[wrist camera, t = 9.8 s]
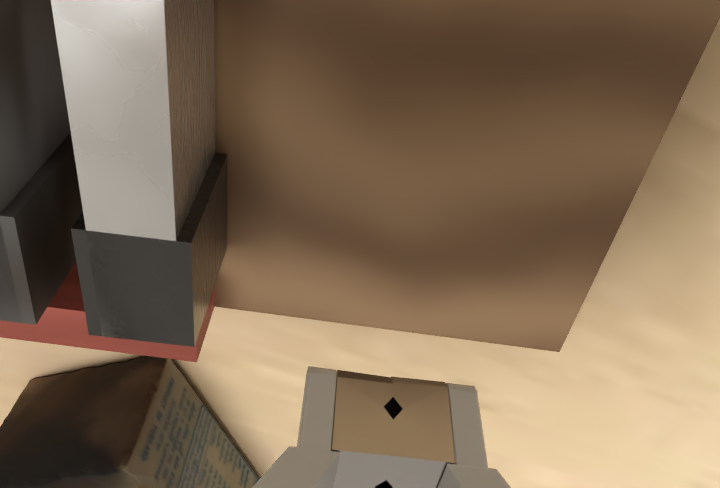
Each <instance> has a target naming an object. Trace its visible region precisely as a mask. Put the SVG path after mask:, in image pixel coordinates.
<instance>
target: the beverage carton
mask: <svg viewBox="0 0 720 488" xmlns="http://www.w3.org/2000/svg"><path fill="white" fill-rule="evenodd" d="M258 480H259V478H258V477H257V476H256V474H255V473H254V471H253V470H252V468H251V467H250V466H249V464H248V463H247V461H246V460H245V459H244V457H243V456H242V455H241V454H240V452H239V451H238V450H237V449H236V447H235V446H234V445H233V443H232V442H231V440H230V439H229V437H228V436H227V435H226V434H225V432H224V431H223V429H222V428H221V427H220V425H219V424H218V423H217V421H216V420H215V419H214V417H213V416H212V415H211V413H210V412H209V411H208V409H207V408H206V407H205V405H204V404H203V403H202V401H201V400H200V399H199V397H198V396H197V394H196V393H195V392H194V390H193V389H192V387H191V386H190V385H189V383H188V382H187V380H186V379H185V378H184V376H183V375H182V373H181V372H180V371H179V370H178V368H177V367H176V366H175V364H174V363H173V361H172V360H171V359H168V358H161V357H153V356H149V357H143V358H139V359H135V360H131V361H127V362H122V363H116V364H111V365H106V366H102V367H98V368H97V367H91V368H87V369H83V370H79V371H75V372H71V373H63V374H58V375H55V376H49V377H41V378H36V379H32V380H30V381H29V383H28V384H27V386H26V387H25V389H24V390H23V392H22V393H21V395H20V396H19V398H18V400H17V402H16V403H15V405H14V406H13V408H12V410H11V412H10V413H9V415H8V416H7V417H6V418H5V420H4V422H3V424H2V425H1V427H0V488H252V487H253V486H254V485H255V484H256V483H257V482H258Z"/></svg>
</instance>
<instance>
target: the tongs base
mask: <svg viewBox="0 0 720 488" xmlns="http://www.w3.org/2000/svg"><path fill="white" fill-rule="evenodd" d="M719 18H720V0H215V152H217V153H225V154H227V250H226V253H225V256H224V259H223V262H222V265H221V268H220V271H219V274H218V277H217V280H216V283H215V286H214V289H213V292H212V295H211V298H210V301H209V304H208V308H207V311H206V314H205V317H204V320H203V323H202V326H201V329H200V332H199V335H198V338H197V341H196V344H195V347H191V346H182V345H173V344H164V343H155V342H146V341H138V340H129V339H120V338H111V337H102V336H93V335H89V333H88V327H87V321H86V315H85V310H84V304H83V298H82V292H81V286H80V280H79V274H78V268H77V262H76V257H75V251H74V245H73V239H72V233H71V227H72V226H73V224H74V223H75V221H76V220H77V219H78V217H79V216H80V214H81V213H82V211H83V208H82V202H81V195H80V189H79V182H78V175H77V169H76V162H75V156H74V149H73V143H72V136H71V130H70V123H69V117H68V110H67V104H66V97H65V91H64V84H63V77H62V71H61V64H60V58H59V51H58V45H57V38H56V32H55V25H54V19H53V12H52V6H51V0H0V337H3V338H10V339H18V340H26V341H34V342H42V343H50V344H58V345H66V346H74V347H82V348H89V349H97V350H105V351H113V352H121V353H129V354H137V355H145V356H153V357H161V358H168V359H176V360H184V361H192V362H197V360H198V357H199V353H200V350H201V347H202V344H203V341H204V338H205V334H206V331H207V328H208V325H209V322H210V319H211V315H212V312H213V309H214V306H216V307H223V308H231V309H239V310H246V311H254V312H261V313H269V314H276V315H284V316H291V317H299V318H307V319H314V320H322V321H329V322H337V323H344V324H352V325H359V326H367V327H375V328H382V329H390V330H397V331H405V332H412V333H420V334H427V335H435V336H443V337H450V338H458V339H465V340H473V341H480V342H488V343H495V344H503V345H511V346H518V347H526V348H533V349H541V350H548V351H556V352H560V350H561V348H562V345H563V343H564V341H565V339H566V337H567V335H568V333H569V331H570V329H571V327H572V325H573V322H574V320H575V318H576V316H577V314H578V312H579V310H580V308H581V306H582V304H583V302H584V300H585V297H586V295H587V293H588V291H589V289H590V287H591V285H592V283H593V281H594V279H595V277H596V275H597V272H598V270H599V268H600V266H601V264H602V262H603V260H604V258H605V256H606V254H607V252H608V249H609V247H610V245H611V243H612V241H613V239H614V237H615V235H616V233H617V231H618V229H619V227H620V224H621V222H622V220H623V218H624V216H625V214H626V212H627V210H628V208H629V206H630V204H631V201H632V199H633V197H634V195H635V193H636V191H637V189H638V187H639V185H640V183H641V181H642V179H643V176H644V174H645V172H646V170H647V168H648V166H649V164H650V162H651V160H652V158H653V156H654V154H655V151H656V149H657V147H658V145H659V143H660V141H661V139H662V137H663V135H664V133H665V131H666V128H667V126H668V124H669V122H670V120H671V118H672V116H673V114H674V112H675V110H676V108H677V106H678V103H679V101H680V99H681V97H682V95H683V93H684V91H685V89H686V87H687V85H688V83H689V81H690V78H691V76H692V74H693V72H694V70H695V68H696V66H697V64H698V62H699V60H700V58H701V55H702V53H703V51H704V49H705V47H706V45H707V43H708V41H709V39H710V37H711V35H712V33H713V30H714V28H715V26H716V24H717V22H718V20H719Z"/></svg>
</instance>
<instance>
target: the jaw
mask: <svg viewBox="0 0 720 488" xmlns="http://www.w3.org/2000/svg"><path fill="white" fill-rule="evenodd" d="M51 6H52V12H53V19H54V25H55V32H56V38H57V45H58V51H59V58H60V64H61V71H62V77H63V84H64V91H65V97H66V104H67V110H68V117H69V123H70V130H71V136H72V143H73V149H74V156H75V162H76V169H77V175H78V182H79V189H80V195H81V202H82V208H83V211H82V213H81V214H80V216H79V217H78V219H77V220H76V221H75V223H74V224H73V226H72V227H71V233H72V239H73V245H74V251H75V257H76V262H77V268H78V274H79V280H80V286H81V292H82V298H83V304H84V310H85V315H86V321H87V327H88V333H89V335H93V336H102V337H111V338H120V339H129V340H138V341H146V342H155V343H164V344H173V345H182V346H191V347H195V344H196V341H197V338H198V335H199V332H200V329H201V326H202V323H203V320H204V317H205V314H206V311H207V308H208V304H209V301H210V298H211V295H212V292H213V289H214V286H215V283H216V280H217V277H218V274H219V271H220V268H221V265H222V262H223V259H224V256H225V253H226V250H227V154H225V153H217V152H215V0H51Z"/></svg>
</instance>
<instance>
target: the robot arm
mask: <svg viewBox="0 0 720 488" xmlns="http://www.w3.org/2000/svg"><path fill="white" fill-rule="evenodd" d="M252 488H511V487H510V486H509V484H508V483H507V482H506V481H505V479H504V478H503V477H502V476H501V474H500V473H499V472H498V471H497V469H492V468H488V464H487V457H486V450H485V443H484V436H483V429H482V422H481V415H480V408H479V401H478V394H477V390H476V389H475V387H474V386H468V385H459V384H451V383H446V384H445V382H438V381H428V380H418V379H409V378H399V377H391V378H390V377H383V376H376V375H369V374H362V373H355V372H348V371H341V370H337V371H336V370H332V369H325V368H317V367H308V370H307V375H306V382H305V389H304V397H303V404H302V411H301V419H300V426H299V433H298V441H297V447H288V448H287V449H286V451H285V452H284V453H283V454H282V455H281V456H280V457H279V458H278V459H277V461H276V462H275V463H274V464H273V465H272V466H271V467H270V468H269V469H268V471H267V472H266V473H265V474H264V475H263V476H262V477H261V478H260V479H259V480H258V482H257V483H256V484H255V485H254V486H253V487H252Z"/></svg>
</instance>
